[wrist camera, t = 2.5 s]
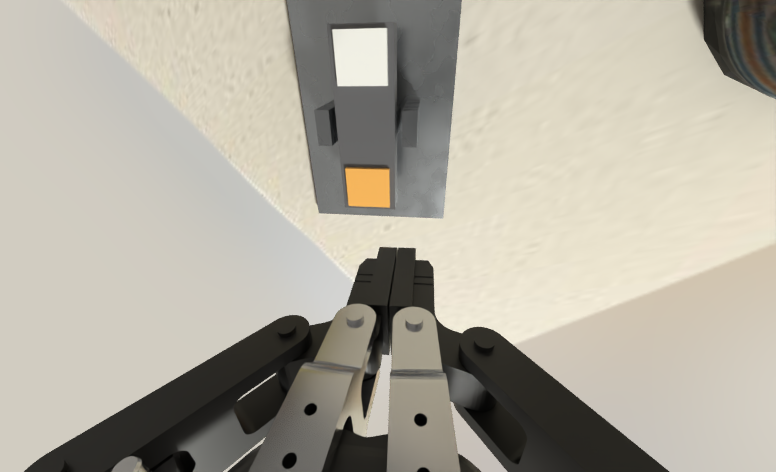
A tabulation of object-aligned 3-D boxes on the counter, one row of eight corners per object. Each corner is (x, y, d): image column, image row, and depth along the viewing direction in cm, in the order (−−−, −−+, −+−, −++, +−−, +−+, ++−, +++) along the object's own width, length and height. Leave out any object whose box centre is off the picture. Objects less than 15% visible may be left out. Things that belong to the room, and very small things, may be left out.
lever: (333, 25, 20) (324, 23, 18) (396, 23, 19) (393, 21, 17) (349, 198, 26) (344, 209, 24) (397, 200, 25) (394, 211, 24)
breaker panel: (287, -23, 22) (250, -40, 17) (463, -31, 20) (471, -53, 16) (321, 209, 31) (303, 236, 27) (442, 214, 30) (444, 244, 25)
